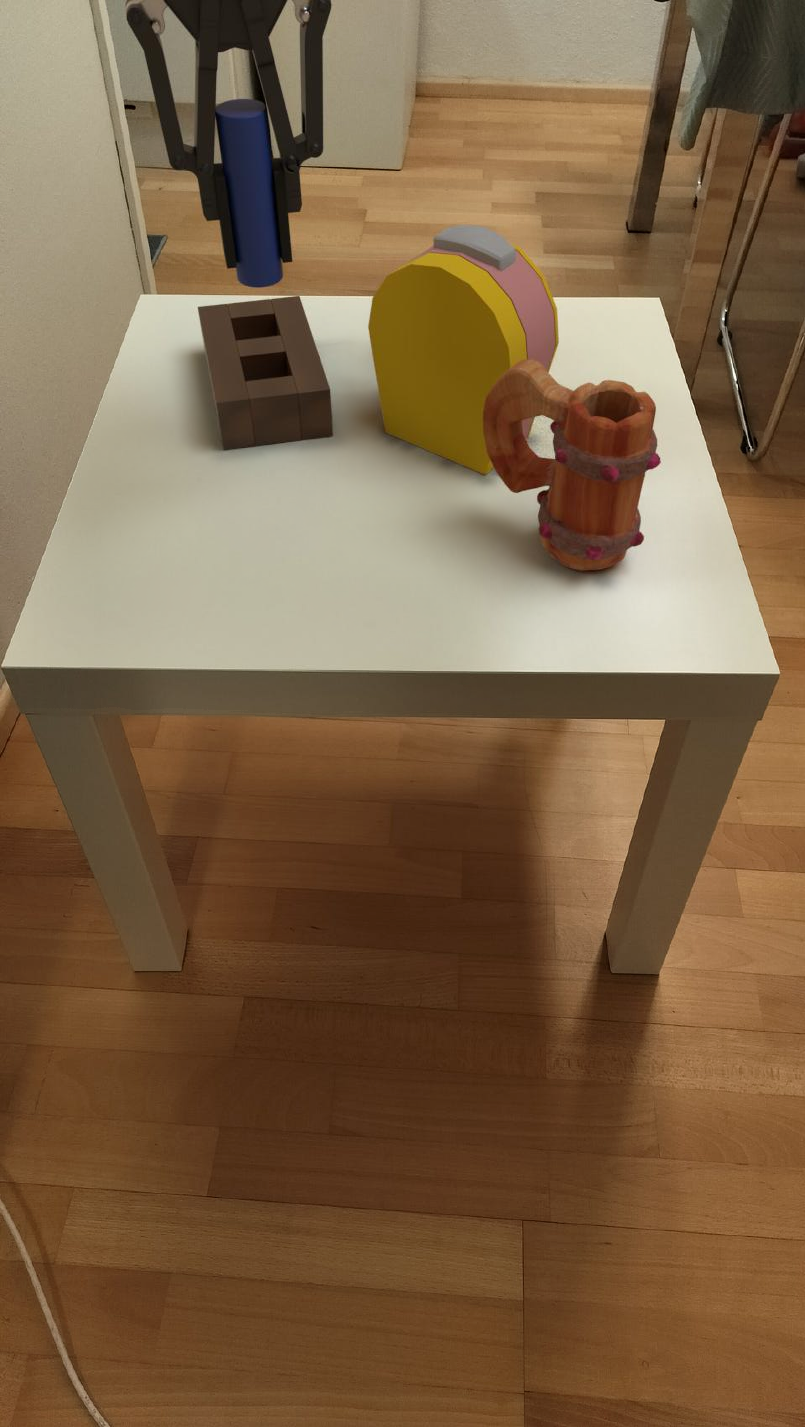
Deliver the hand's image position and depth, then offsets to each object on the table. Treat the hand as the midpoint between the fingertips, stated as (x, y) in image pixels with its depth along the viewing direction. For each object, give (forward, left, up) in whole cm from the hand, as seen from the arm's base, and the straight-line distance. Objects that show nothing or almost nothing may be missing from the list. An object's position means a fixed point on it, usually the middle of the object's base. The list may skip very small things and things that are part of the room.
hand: (257, 256), depth 77 cm
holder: (0, +12, -19) cm, 23 cm away
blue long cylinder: (0, 0, -2) cm, 2 cm away
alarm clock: (+17, +1, -19) cm, 26 cm away
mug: (+21, -16, -19) cm, 33 cm away
